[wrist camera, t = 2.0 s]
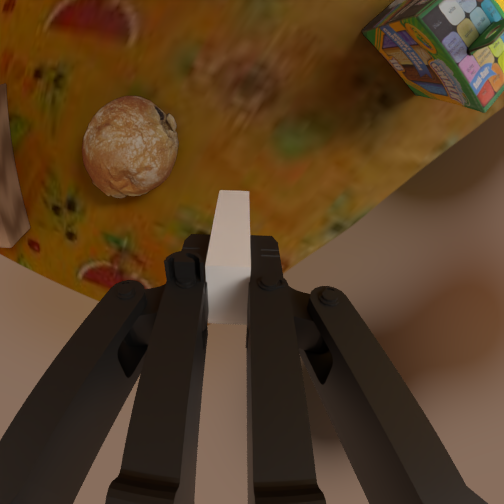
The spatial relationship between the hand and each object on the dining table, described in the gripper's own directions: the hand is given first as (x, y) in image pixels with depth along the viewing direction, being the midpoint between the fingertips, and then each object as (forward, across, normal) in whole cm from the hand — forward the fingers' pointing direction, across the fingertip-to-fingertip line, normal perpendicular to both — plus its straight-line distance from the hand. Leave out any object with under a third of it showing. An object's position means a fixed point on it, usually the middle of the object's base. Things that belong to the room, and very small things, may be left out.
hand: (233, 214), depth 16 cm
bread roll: (+16, -11, 0) cm, 19 cm away
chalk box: (+16, +17, +14) cm, 27 cm away
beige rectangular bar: (+15, -30, 0) cm, 34 cm away
